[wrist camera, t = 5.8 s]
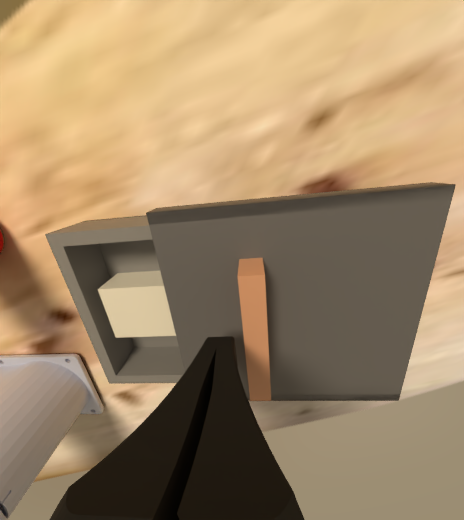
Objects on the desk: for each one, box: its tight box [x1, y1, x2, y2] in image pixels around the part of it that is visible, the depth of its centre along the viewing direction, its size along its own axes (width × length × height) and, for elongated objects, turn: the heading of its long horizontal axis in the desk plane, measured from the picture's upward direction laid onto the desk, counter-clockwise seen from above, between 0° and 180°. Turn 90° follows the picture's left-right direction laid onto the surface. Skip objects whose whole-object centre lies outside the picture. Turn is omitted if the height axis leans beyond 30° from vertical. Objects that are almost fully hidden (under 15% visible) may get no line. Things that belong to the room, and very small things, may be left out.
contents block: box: [98, 271, 176, 338], centre depth 16 cm, size 5×4×2 cm
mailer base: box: [45, 215, 185, 383], centre depth 16 cm, size 14×12×3 cm
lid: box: [146, 182, 455, 401], centre depth 13 cm, size 14×14×3 cm
